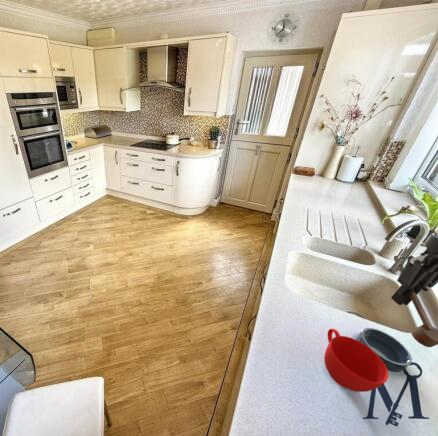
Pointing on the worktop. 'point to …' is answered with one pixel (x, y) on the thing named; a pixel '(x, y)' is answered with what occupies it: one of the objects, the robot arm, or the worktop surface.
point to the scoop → (423, 326)
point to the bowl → (386, 349)
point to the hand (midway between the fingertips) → (399, 301)
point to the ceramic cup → (353, 364)
